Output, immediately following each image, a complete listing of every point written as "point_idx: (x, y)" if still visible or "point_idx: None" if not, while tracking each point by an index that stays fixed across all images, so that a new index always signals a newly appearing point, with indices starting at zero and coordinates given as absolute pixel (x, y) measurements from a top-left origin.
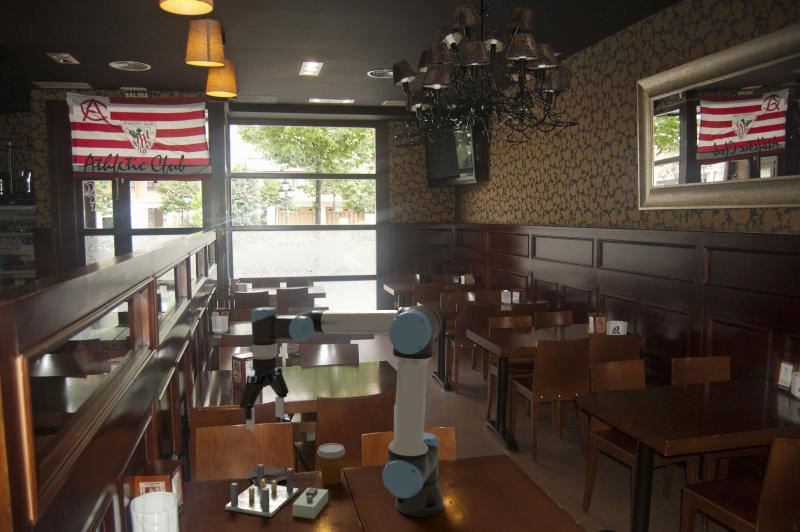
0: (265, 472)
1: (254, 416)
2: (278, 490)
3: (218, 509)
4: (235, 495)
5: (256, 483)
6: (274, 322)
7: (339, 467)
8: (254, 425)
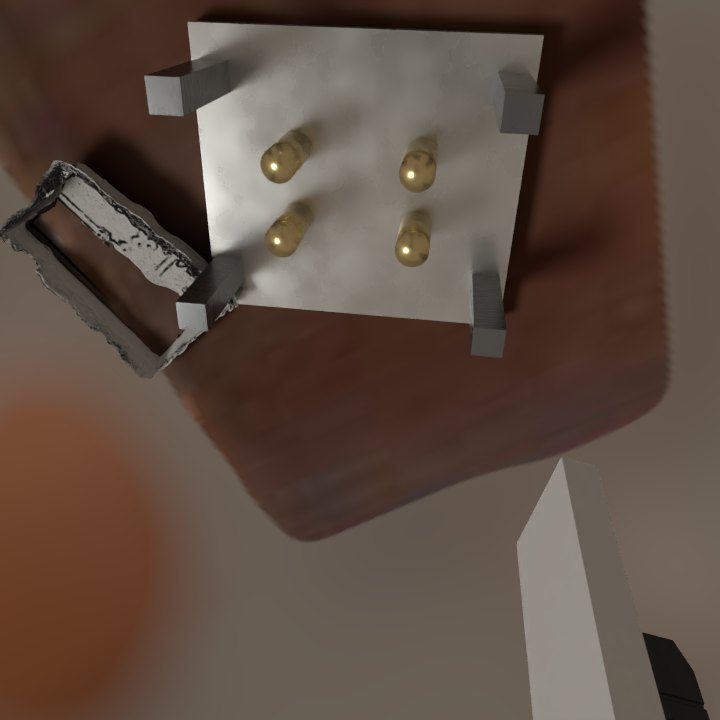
0: (93, 309)
1: (600, 630)
2: (256, 138)
3: None
4: (499, 301)
5: None
6: None
7: None
8: (577, 502)
